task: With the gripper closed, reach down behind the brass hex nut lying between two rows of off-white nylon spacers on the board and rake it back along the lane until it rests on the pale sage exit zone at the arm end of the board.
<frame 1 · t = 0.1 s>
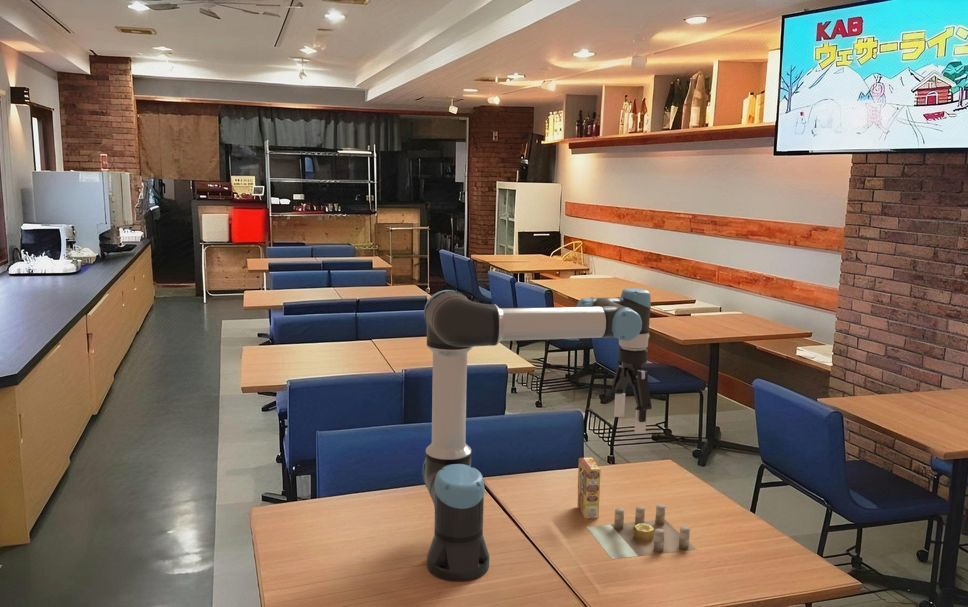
hand: (629, 424, 198), 28 cm above the table, fingers open, 13 cm apart
candy box: (587, 515, 206), on the table
nut: (643, 537, 191), point 1 cm above the table, touching board
board: (639, 542, 191), on the table
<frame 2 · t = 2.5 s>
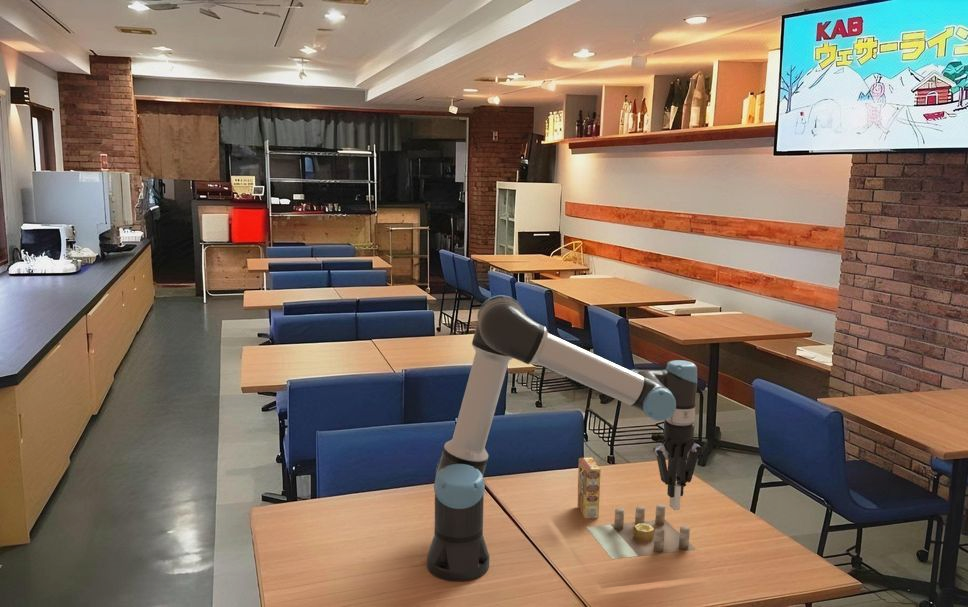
hand: (674, 507, 192), 9 cm above the table, fingers closed
nothing on the table moved.
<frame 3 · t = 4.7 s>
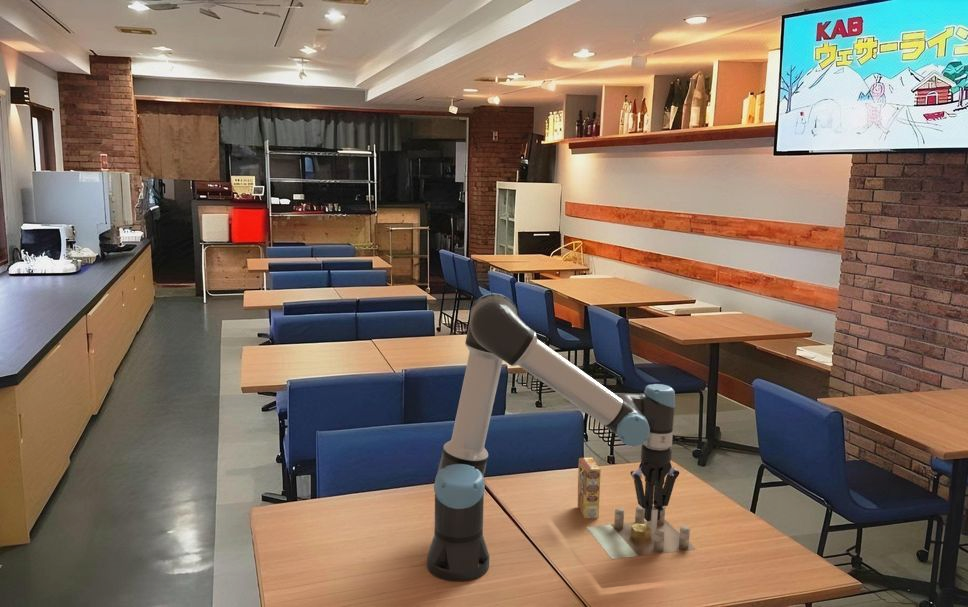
hand: (651, 531, 191), 3 cm above the table, fingers closed
nut: (640, 537, 191), point 1 cm above the table, touching gripper
everything else where it was.
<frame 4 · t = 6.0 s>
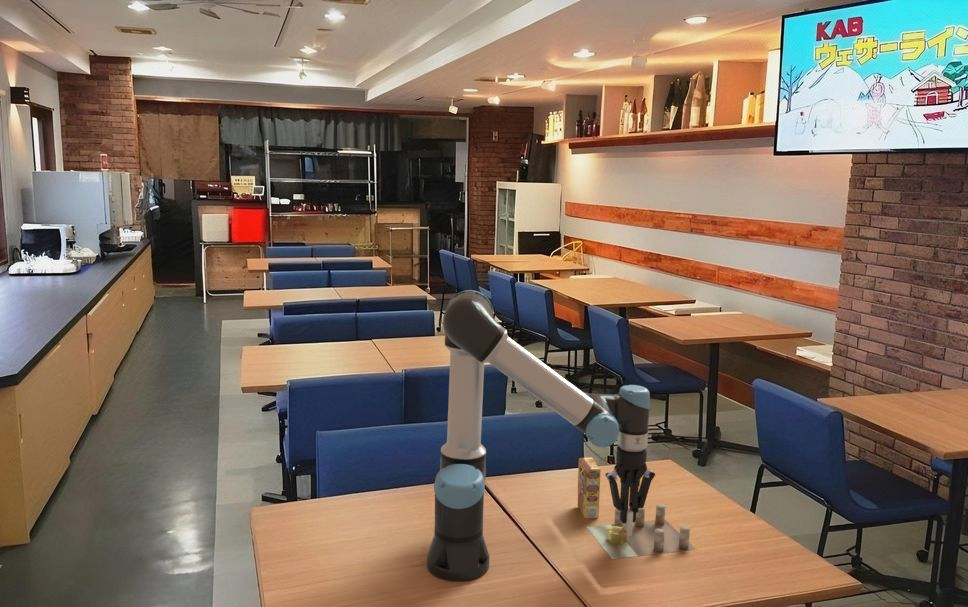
hand: (627, 533, 190), 3 cm above the table, fingers closed
nut: (616, 540, 189), point 1 cm above the table, touching gripper
everything else where it was.
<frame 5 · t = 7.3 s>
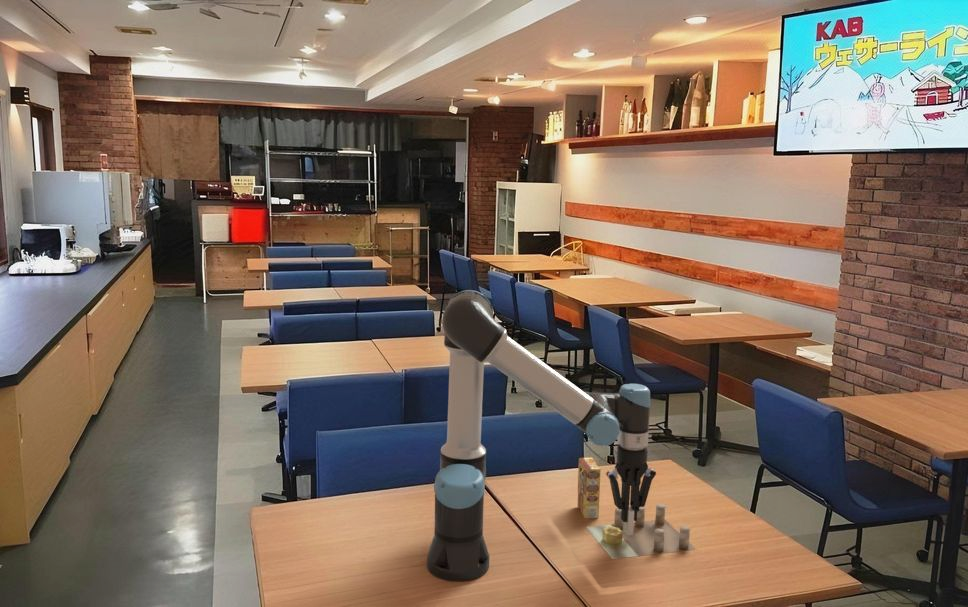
hand: (628, 532, 189), 3 cm above the table, fingers closed
nut: (612, 541, 189), point 1 cm above the table, touching board
everything else where it was.
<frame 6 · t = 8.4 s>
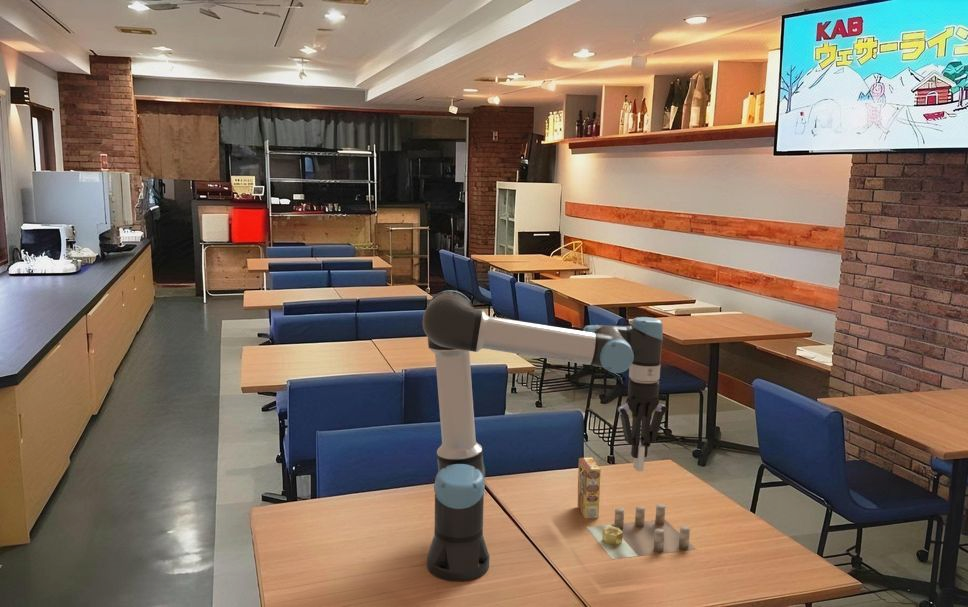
hand: (638, 469, 187), 20 cm above the table, fingers closed
nothing on the table moved.
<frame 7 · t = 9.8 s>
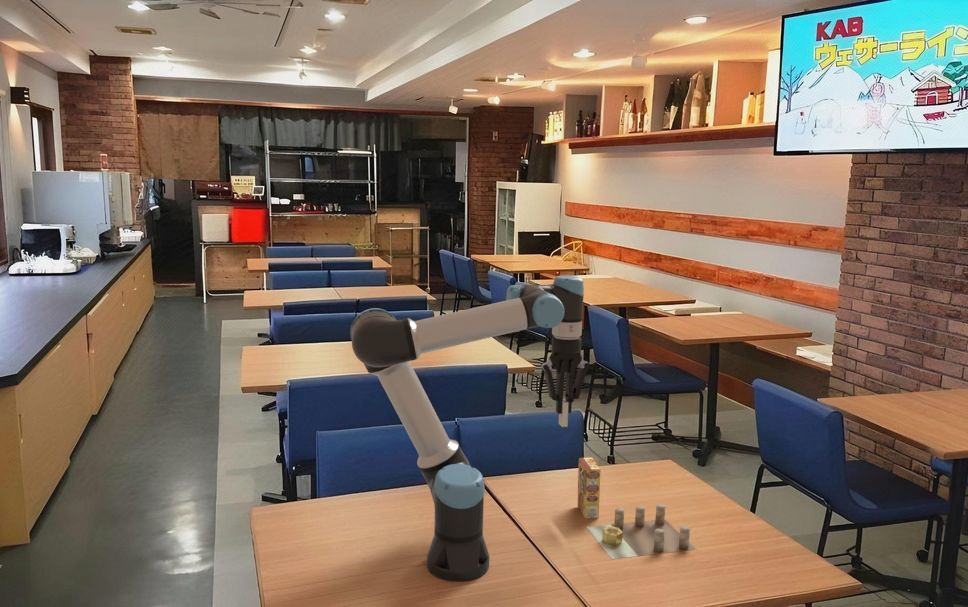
hand: (563, 424, 192), 29 cm above the table, fingers closed
nothing on the table moved.
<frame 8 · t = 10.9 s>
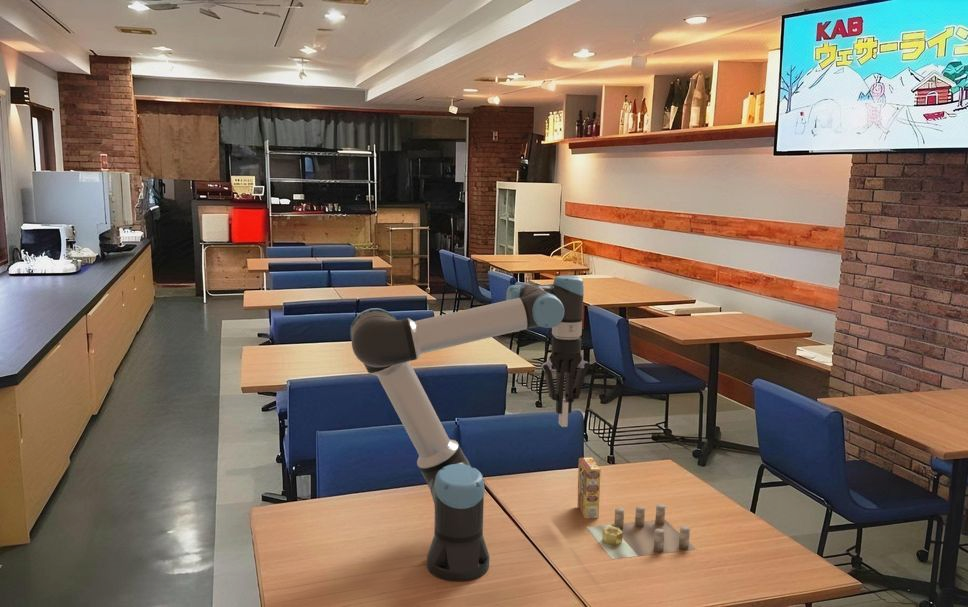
hand: (562, 424, 192), 29 cm above the table, fingers closed
nothing on the table moved.
at the end: nut inside the target area on the board (0.2 cm from its centre), point 1.2 cm above the board's base; nut moved 8.8 cm from its start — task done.
